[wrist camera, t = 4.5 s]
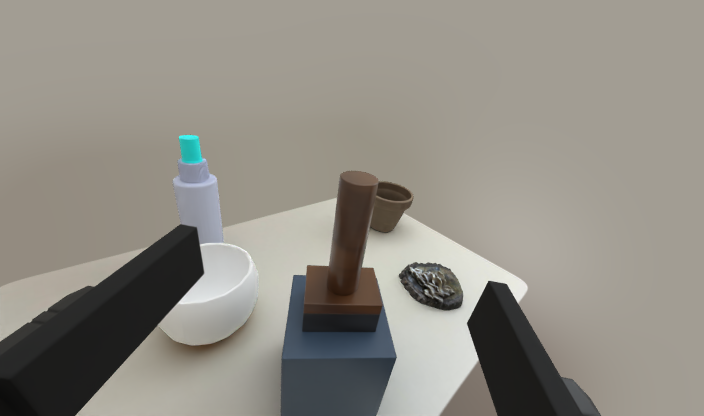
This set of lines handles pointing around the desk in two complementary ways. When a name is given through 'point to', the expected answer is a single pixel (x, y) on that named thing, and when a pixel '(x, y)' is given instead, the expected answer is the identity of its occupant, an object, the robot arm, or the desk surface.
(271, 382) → the desk surface
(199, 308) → the cup
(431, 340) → the desk surface
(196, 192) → the spray bottle
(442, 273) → the grey rough lump
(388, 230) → the flower pot
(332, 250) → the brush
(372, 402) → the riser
